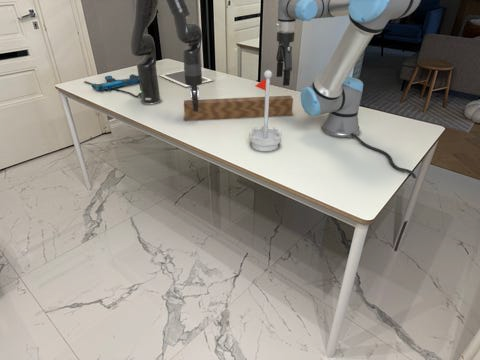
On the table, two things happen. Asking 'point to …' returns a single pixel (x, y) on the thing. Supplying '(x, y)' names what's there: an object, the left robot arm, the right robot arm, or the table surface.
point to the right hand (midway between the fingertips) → (282, 80)
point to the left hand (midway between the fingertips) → (195, 108)
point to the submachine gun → (115, 82)
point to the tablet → (181, 78)
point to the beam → (238, 108)
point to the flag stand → (265, 123)
